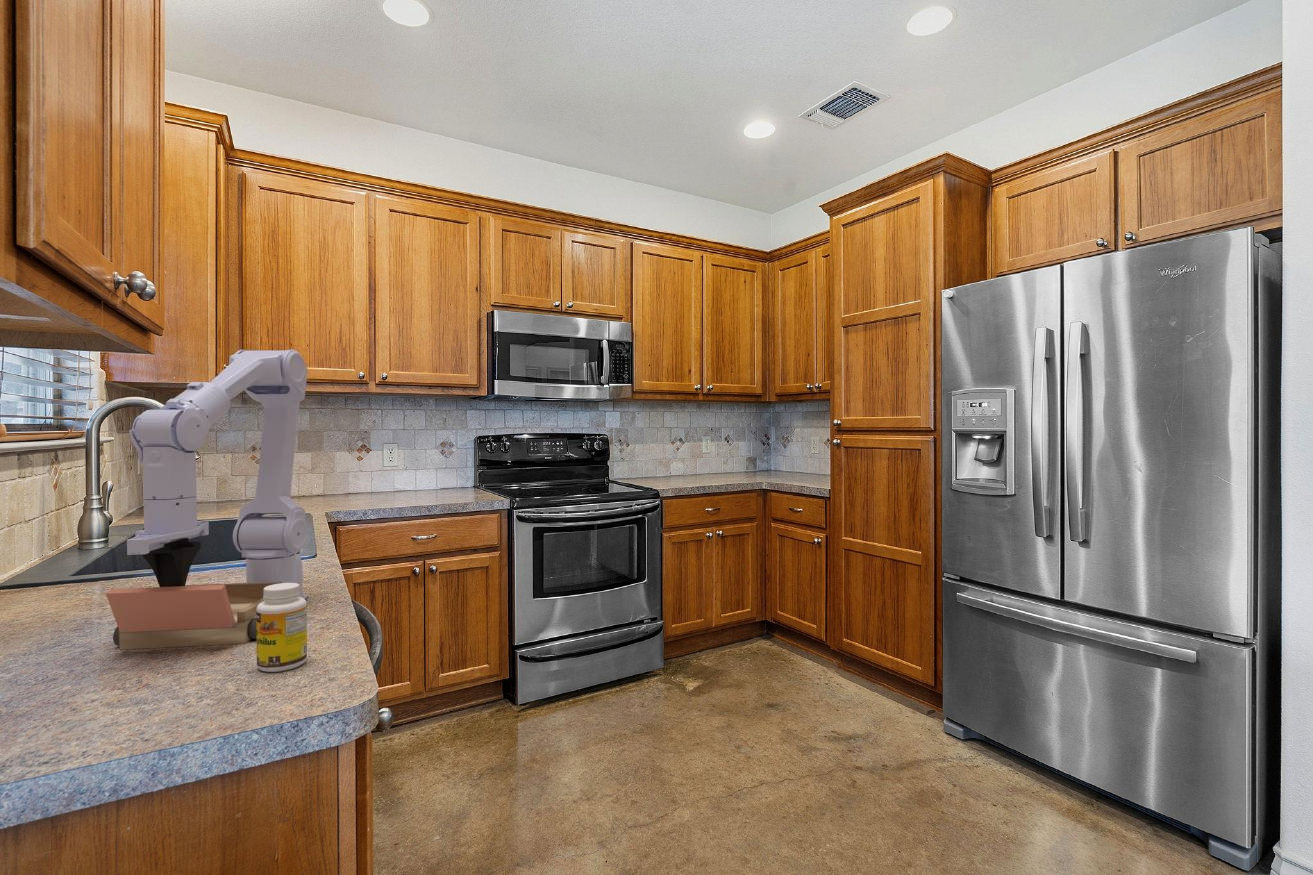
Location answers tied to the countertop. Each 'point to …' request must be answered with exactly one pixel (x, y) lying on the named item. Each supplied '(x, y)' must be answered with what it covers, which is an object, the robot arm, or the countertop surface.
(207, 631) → the truck bed
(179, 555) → the robot arm
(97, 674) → the countertop surface
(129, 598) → the panel
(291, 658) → the supplement bottle
